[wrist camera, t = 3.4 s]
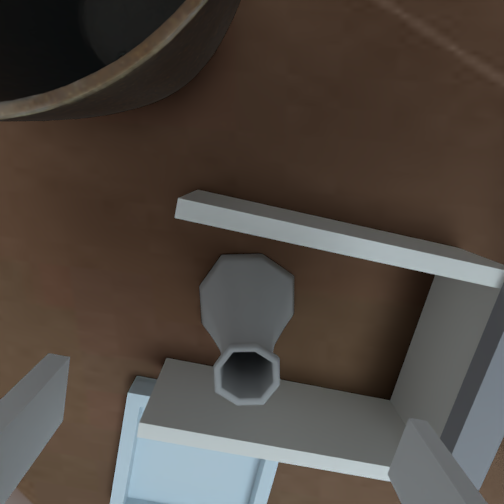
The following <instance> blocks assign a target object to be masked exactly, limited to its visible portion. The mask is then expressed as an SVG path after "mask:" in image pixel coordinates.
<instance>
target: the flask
mask: <svg viewBox="0 0 504 504" xmlns="http://www.w3.org/2000/svg"><path fill="white" fill-rule="evenodd" d="M199 290H200V306H201V321H202V324H203V326H204V327H205V329H206V330H207V331H208V332H209V334H210V335H211V336H212V338H213V340H214V341H215V343H216V344H217V346H218V348H219V349H220V351H221V356H220V357H219V358H218V359H217V361H216V362H215V364H214V366H213V370H214V387H215V393H217V394H219V395H220V396H222V397H224V398H225V399H227V400H229V401H230V402H232V403H234V404H235V405H237V406H241V405H264V404H265V403H266V402H267V400H268V399H269V398H270V397H271V396H272V394H273V393H274V392H275V391H276V389H277V388H278V387H279V386H280V358H279V357H278V356H277V355H276V354H274V353H273V350H274V345H275V343H276V341H277V340H278V338H279V336H280V334H281V333H282V331H283V329H284V328H285V326H286V325H287V323H288V322H289V320H290V319H291V318H292V316H293V314H294V275H292V274H291V273H289V272H288V271H287V270H285V269H284V268H282V267H281V266H279V265H278V264H276V263H275V262H274V261H272V260H271V259H269V258H268V257H266V256H265V255H263V254H229V255H221V256H220V258H219V259H218V260H217V262H216V263H215V265H214V266H213V267H212V269H211V270H210V272H209V273H208V274H207V276H206V277H205V279H204V280H203V282H202V283H201V284H200V286H199Z"/></svg>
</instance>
